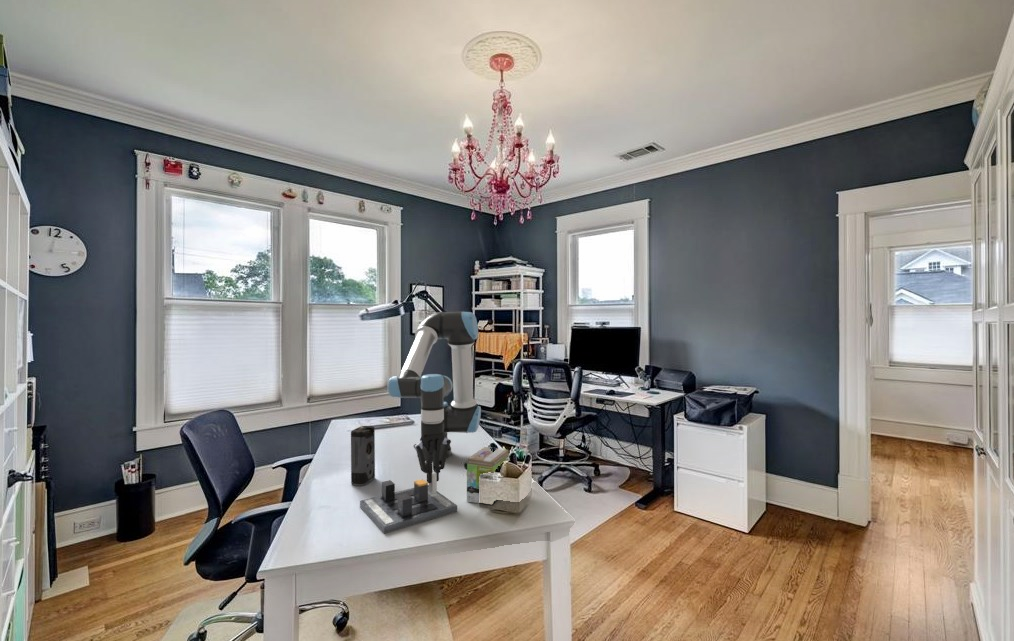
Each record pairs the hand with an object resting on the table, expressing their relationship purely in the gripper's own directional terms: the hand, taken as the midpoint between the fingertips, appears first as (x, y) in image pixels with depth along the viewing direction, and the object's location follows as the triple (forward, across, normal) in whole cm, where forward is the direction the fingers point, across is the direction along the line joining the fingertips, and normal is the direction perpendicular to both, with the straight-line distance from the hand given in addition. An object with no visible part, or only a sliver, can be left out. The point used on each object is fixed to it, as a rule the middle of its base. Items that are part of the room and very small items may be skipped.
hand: (432, 491), depth 148 cm
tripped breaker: (+1, +4, 0) cm, 4 cm away
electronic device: (+4, +13, -33) cm, 36 cm away
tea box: (+4, -18, +6) cm, 20 cm away
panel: (+4, +9, 0) cm, 10 cm away
